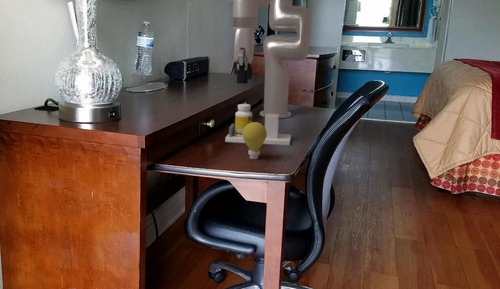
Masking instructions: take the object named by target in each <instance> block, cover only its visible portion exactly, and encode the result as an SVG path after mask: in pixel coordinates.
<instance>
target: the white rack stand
mask: <svg viewBox="0 0 500 289" xmlns="http://www.w3.org/2000/svg"><path fill="white" fill-rule="evenodd" d="M262 117H263V116H262ZM262 119H263V121H262V125H263V126H264V127H265V129H266V132H267V137H266V139H265V141H264V143H263V144H262V145H281V146H290V145H291V140H292V135H291V134H288V133H287V134H286V133H285V134H283V133H279V129H280V128H279V126H280V124H279V123H280V118H279V114H266V116H264V117H263V118H262ZM224 139H225V141H224V142H225V143H238V144H239V143H240V144H241V143H242V144H246V143H245V140H244V138H243V137H239V136H236V135H235V123H231V125H230V126H229V128H228V134H227V135H226V136H225V138H224Z"/></svg>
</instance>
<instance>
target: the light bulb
mask: <svg viewBox="0 0 500 289" xmlns="http://www.w3.org/2000/svg"><path fill="white" fill-rule="evenodd" d="M242 136H243V138H244V140H245V143H244V144H246V146H247V147H248V155H249V159H252V160H257V159H259V155H261V150H260V148H261V147H262V146H263V145H264V144H263V143H264V141H265V139H266V137H267V132H266V129H265V127H264V126H263V123H260V122H257V121H254V122H253V121H252V123H249V124H247V125H246V126H245V128H244V130H243V133H242Z"/></svg>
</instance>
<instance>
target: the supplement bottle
mask: <svg viewBox="0 0 500 289" xmlns="http://www.w3.org/2000/svg"><path fill="white" fill-rule="evenodd" d="M251 108H252V107H251V104H248V103H241V104H238V105H237V110H238V111H236V112H235V118H234V119H235V120H234V124H235V135H236V136H239V137H243V136H242V133H243V130H244V128H245V126H246V125H247V124H249V123H252V122H253V112H252V111H251Z"/></svg>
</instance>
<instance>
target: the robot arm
mask: <svg viewBox="0 0 500 289" xmlns="http://www.w3.org/2000/svg"><path fill="white" fill-rule="evenodd" d="M226 1H227V3H228V4H229V6H231V7H232V30H235V33H234V42H233V43H234V46H233V48H234V49H233V62H234V63H235V64H236V63H237V67H236V68H237V70H236V83H237V84H244V85H246V84H248V81H249V80H252V79H253V66H252V65H253V64H252V61H253V60H254V54H255V53H254V48H255V46H254V45H255V30H258V29H259V26H258V25H259V8H265V7H267V6H269V15H268V25H269V28H270V29H271V30H272V31H276V32H285V33H286V32H288V33H289V32H291V33H293V32H294V33H297V35H295V34H271V35H268V36H266V37H265V38H264V41H263V43H262V45H263V46H262V48H263V57H264V88H263V90H264V92H263V95H264V96H263V110H261V111H260V112H259V116H261V117H264V116H266V114H279V119H286V118H290V117H292V112H290V111H289V110H288V107H289V105H288V104H289V83H290V82H289V80H290V70H289V68H288V67H287V64H286V63H285V62H284V61H296V62H297V61H298V62H300V61H302V62H303V61H305V60H306V59H307V57H308V55H309V50H310V48H309V47H310V36H311V35H310V33H311V19H312V18H311V13H310V9H309V8H307V6H304V5H293V0H226Z"/></svg>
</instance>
